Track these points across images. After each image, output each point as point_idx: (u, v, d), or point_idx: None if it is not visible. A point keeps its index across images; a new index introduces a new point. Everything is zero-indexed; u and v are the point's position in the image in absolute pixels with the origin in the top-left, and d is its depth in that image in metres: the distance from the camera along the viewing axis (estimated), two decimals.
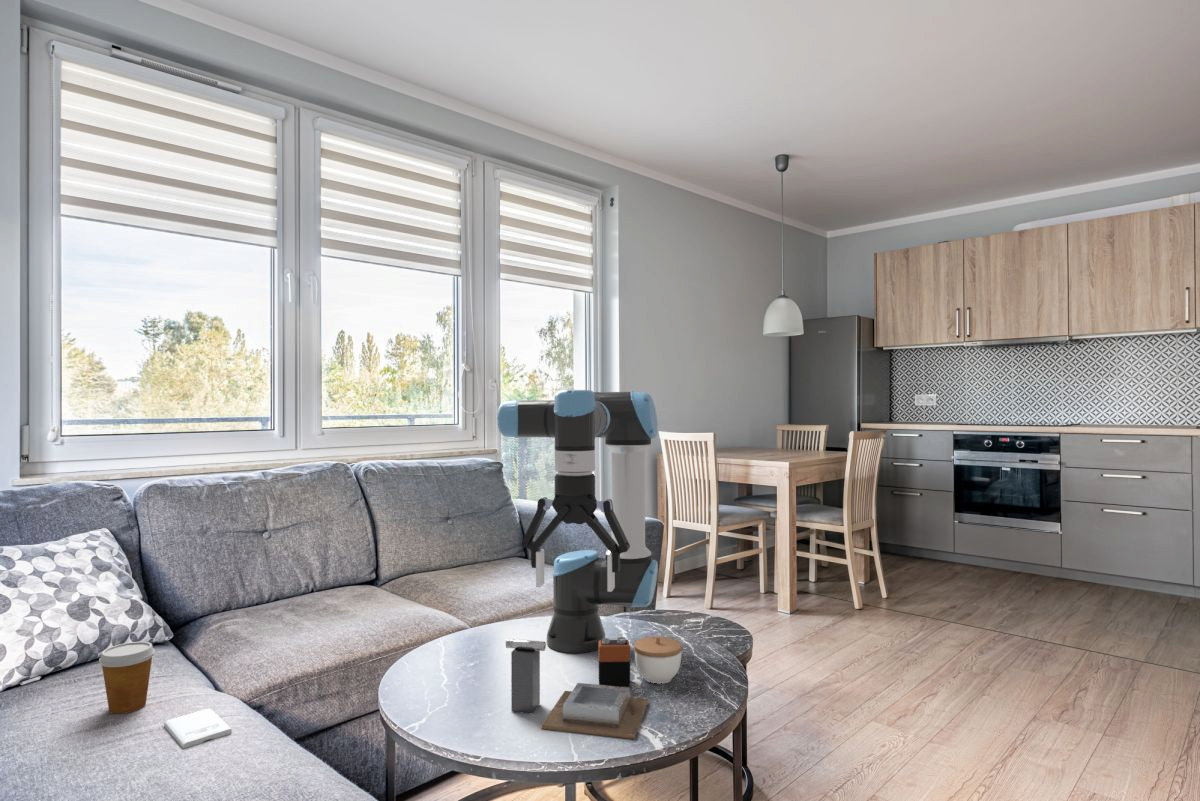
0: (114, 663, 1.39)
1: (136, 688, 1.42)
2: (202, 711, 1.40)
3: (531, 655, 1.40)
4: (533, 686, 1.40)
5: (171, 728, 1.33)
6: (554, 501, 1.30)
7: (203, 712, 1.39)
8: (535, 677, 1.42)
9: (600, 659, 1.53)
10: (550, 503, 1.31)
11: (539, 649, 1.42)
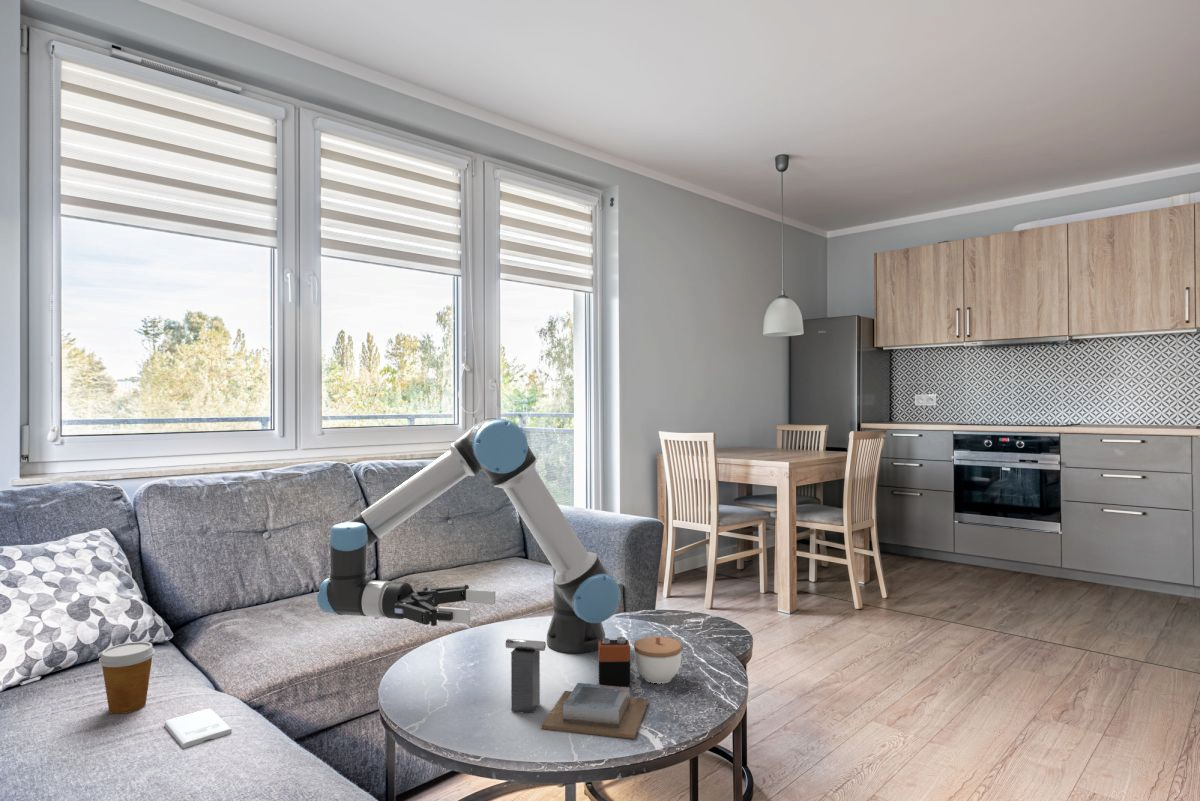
0: (114, 663, 1.39)
1: (136, 688, 1.42)
2: (202, 711, 1.40)
3: (531, 655, 1.40)
4: (532, 686, 1.40)
5: (171, 728, 1.33)
6: None
7: (203, 712, 1.39)
8: (535, 677, 1.42)
9: (600, 659, 1.53)
10: None
11: (539, 649, 1.42)
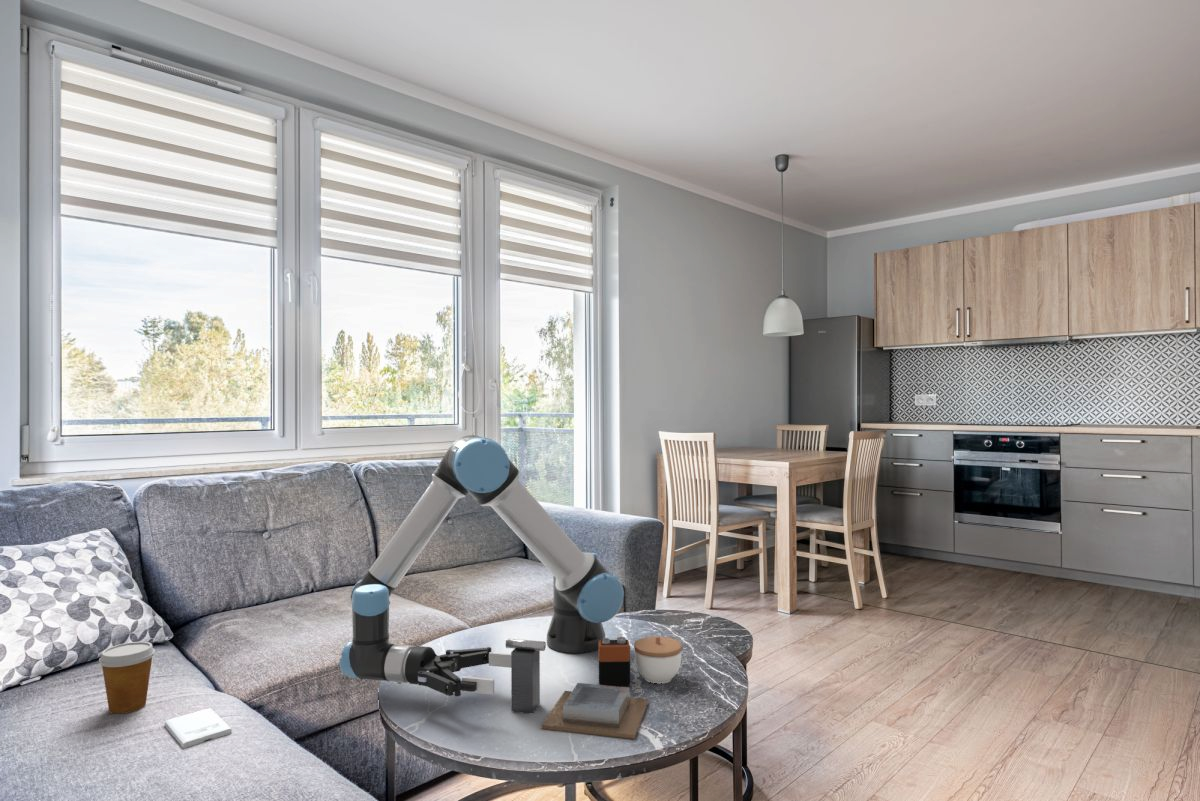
0: (114, 663, 1.39)
1: (136, 688, 1.42)
2: (202, 711, 1.40)
3: (531, 655, 1.40)
4: (532, 686, 1.40)
5: (171, 728, 1.33)
6: None
7: (204, 712, 1.39)
8: (535, 677, 1.42)
9: (600, 659, 1.53)
10: None
11: (539, 649, 1.42)
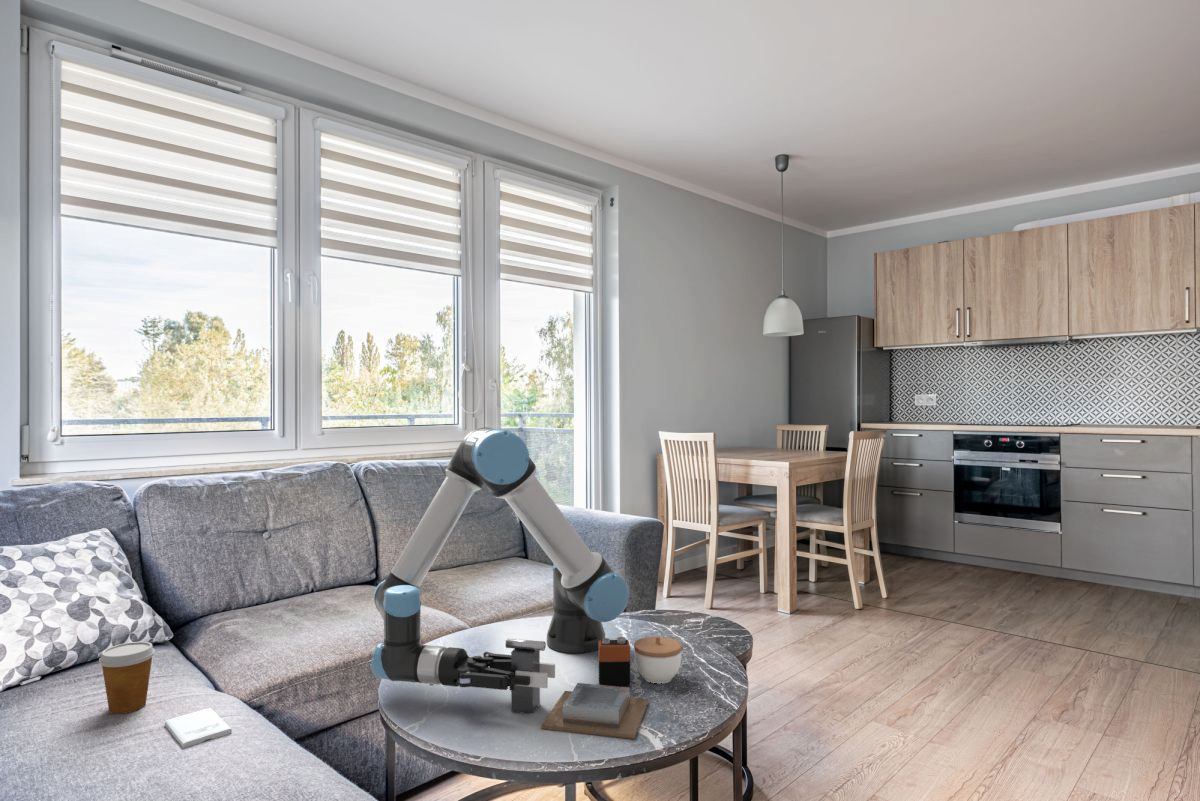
0: (114, 663, 1.39)
1: (136, 688, 1.42)
2: (203, 711, 1.40)
3: (531, 655, 1.40)
4: None
5: (171, 727, 1.33)
6: None
7: (204, 712, 1.39)
8: None
9: (600, 659, 1.53)
10: None
11: (539, 649, 1.42)
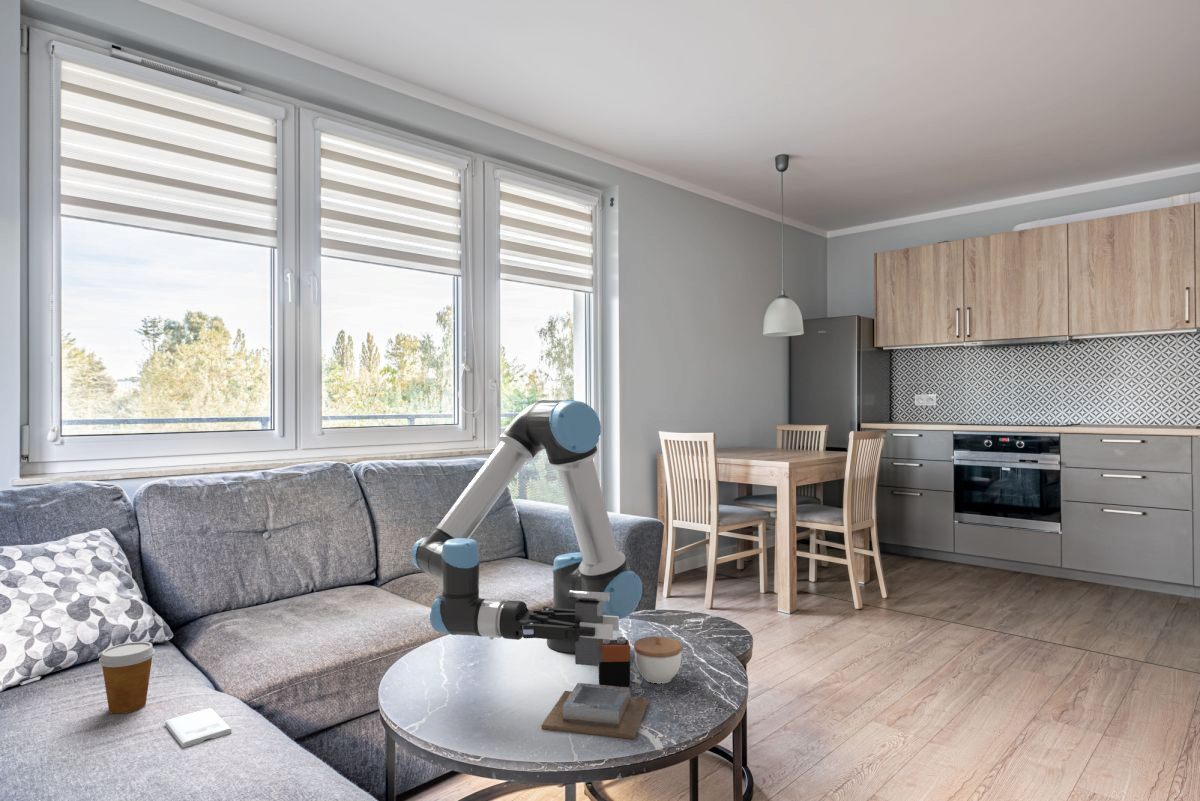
0: (114, 663, 1.39)
1: (136, 688, 1.42)
2: (203, 711, 1.40)
3: (595, 606, 1.37)
4: None
5: (171, 727, 1.33)
6: None
7: (204, 712, 1.39)
8: None
9: None
10: None
11: (603, 600, 1.38)
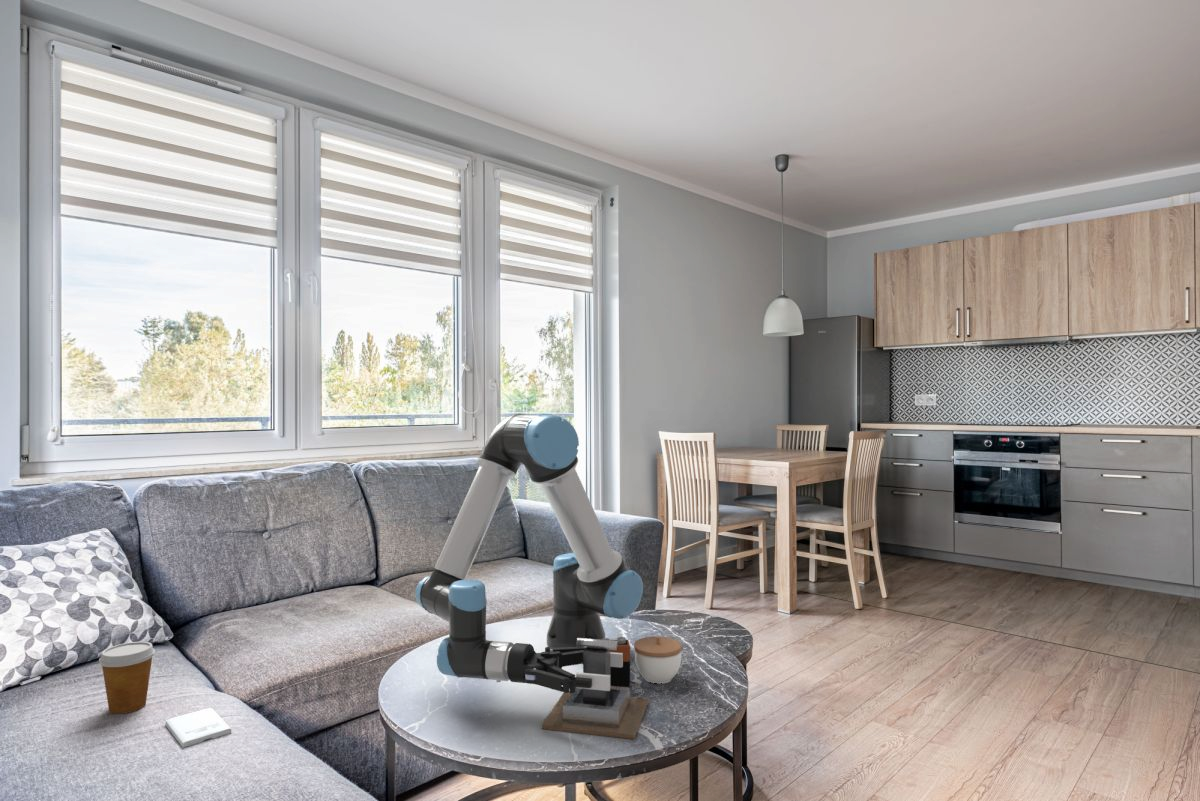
0: (114, 663, 1.39)
1: (136, 688, 1.42)
2: (203, 710, 1.40)
3: (604, 654, 1.37)
4: None
5: (172, 727, 1.33)
6: None
7: (204, 712, 1.39)
8: None
9: None
10: None
11: (611, 648, 1.38)
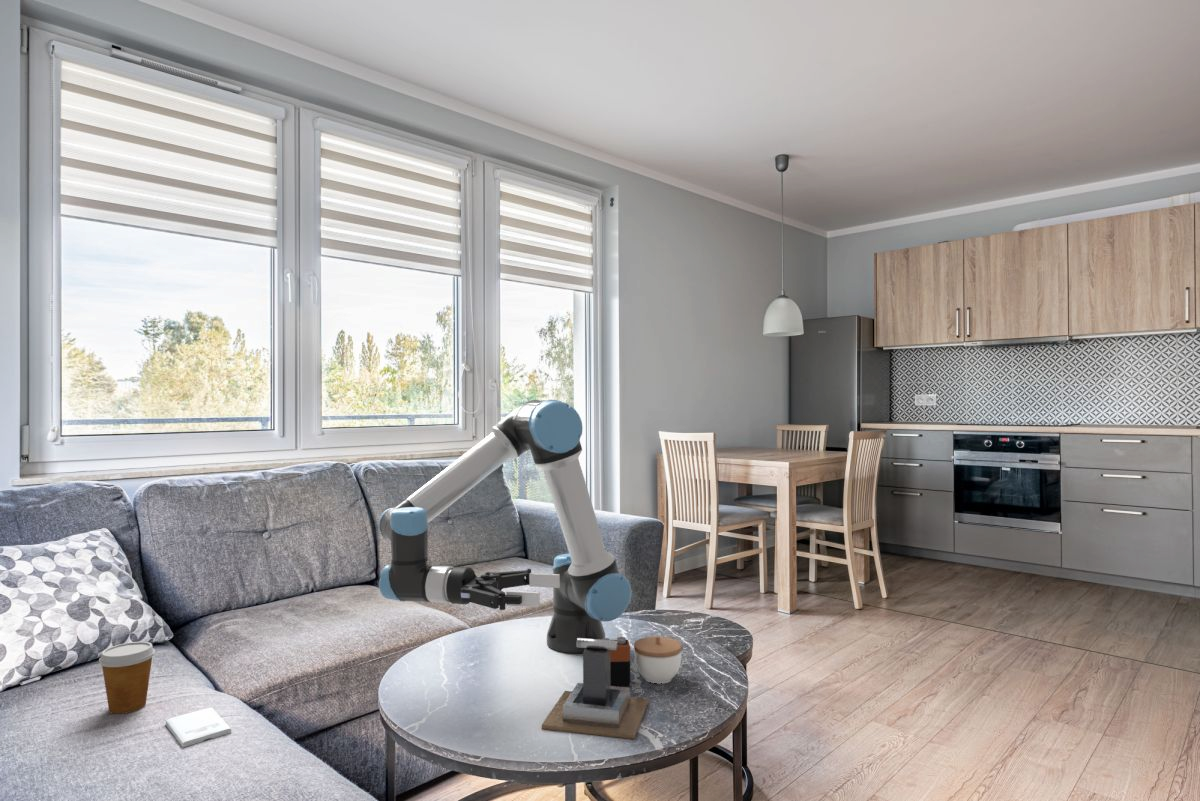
0: (114, 663, 1.39)
1: (136, 688, 1.42)
2: (203, 710, 1.40)
3: (604, 654, 1.37)
4: (605, 686, 1.37)
5: (172, 727, 1.33)
6: None
7: (204, 711, 1.39)
8: (607, 677, 1.39)
9: None
10: None
11: (611, 648, 1.38)
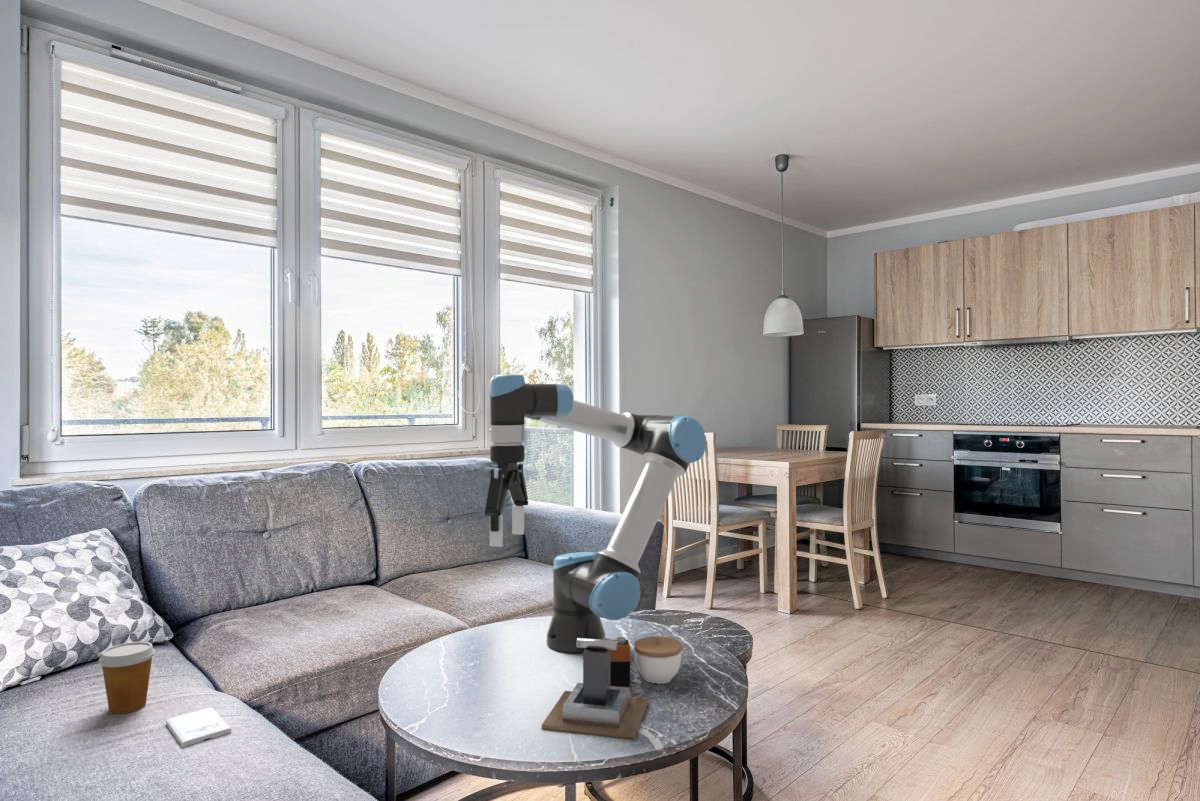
0: (114, 663, 1.39)
1: (136, 688, 1.42)
2: (204, 710, 1.40)
3: (604, 654, 1.37)
4: (605, 686, 1.37)
5: (172, 726, 1.33)
6: None
7: (205, 711, 1.40)
8: (607, 677, 1.39)
9: None
10: None
11: (611, 648, 1.38)
